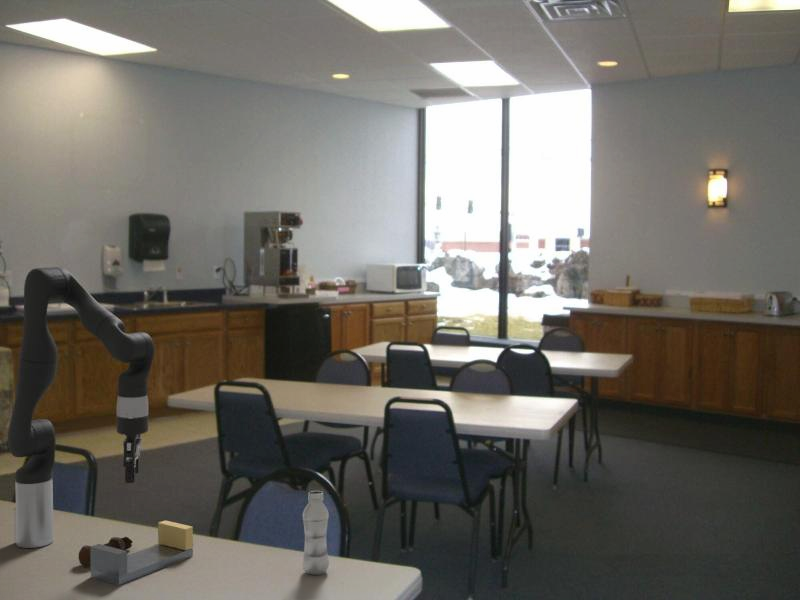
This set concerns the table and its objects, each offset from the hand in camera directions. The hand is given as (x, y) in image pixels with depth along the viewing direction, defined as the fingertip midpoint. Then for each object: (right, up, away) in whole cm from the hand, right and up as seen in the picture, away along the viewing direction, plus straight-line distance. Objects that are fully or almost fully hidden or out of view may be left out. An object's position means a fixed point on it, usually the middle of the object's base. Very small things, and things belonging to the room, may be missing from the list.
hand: (132, 477), depth 217 cm
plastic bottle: (+46, -23, -2) cm, 51 cm away
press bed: (+2, -22, +1) cm, 23 cm away
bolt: (-8, -23, +7) cm, 25 cm away
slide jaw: (+8, -20, +10) cm, 24 cm away
